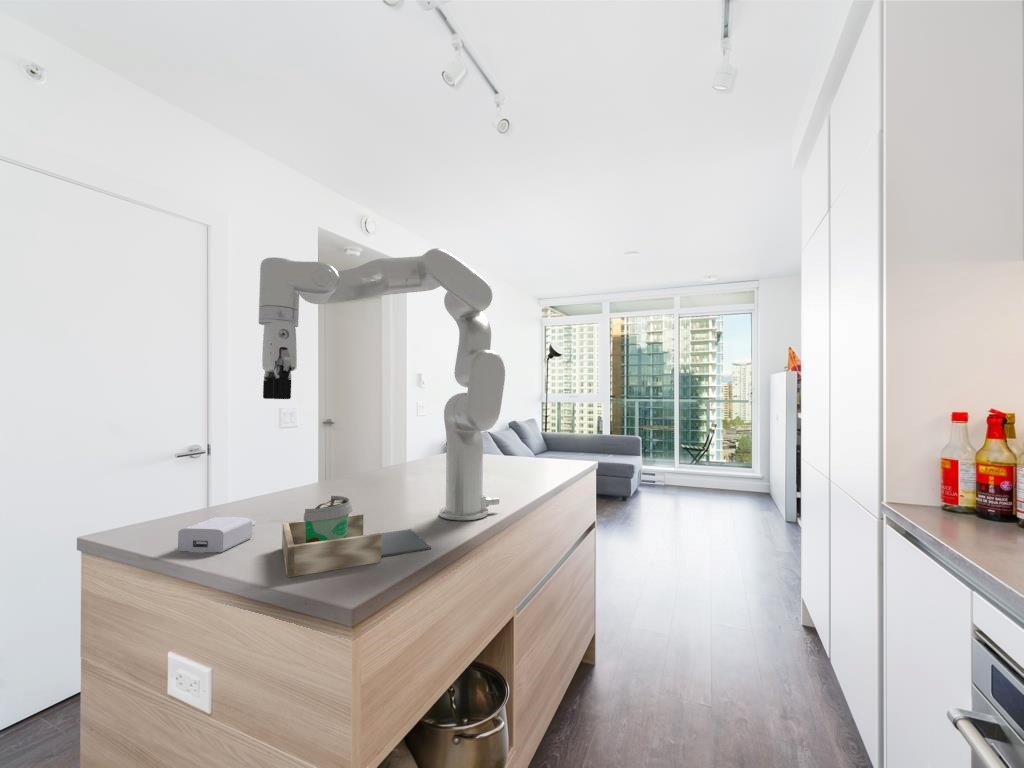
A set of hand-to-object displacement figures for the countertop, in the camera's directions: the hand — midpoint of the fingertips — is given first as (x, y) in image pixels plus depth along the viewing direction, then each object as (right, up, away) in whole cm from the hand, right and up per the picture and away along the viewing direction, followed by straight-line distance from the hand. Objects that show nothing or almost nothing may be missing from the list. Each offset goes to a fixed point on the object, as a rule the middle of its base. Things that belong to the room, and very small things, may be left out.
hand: (276, 398), depth 95 cm
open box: (+15, -30, -8) cm, 34 cm away
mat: (+26, -30, -1) cm, 39 cm away
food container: (+15, -30, -8) cm, 35 cm away
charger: (-10, -30, 0) cm, 32 cm away
